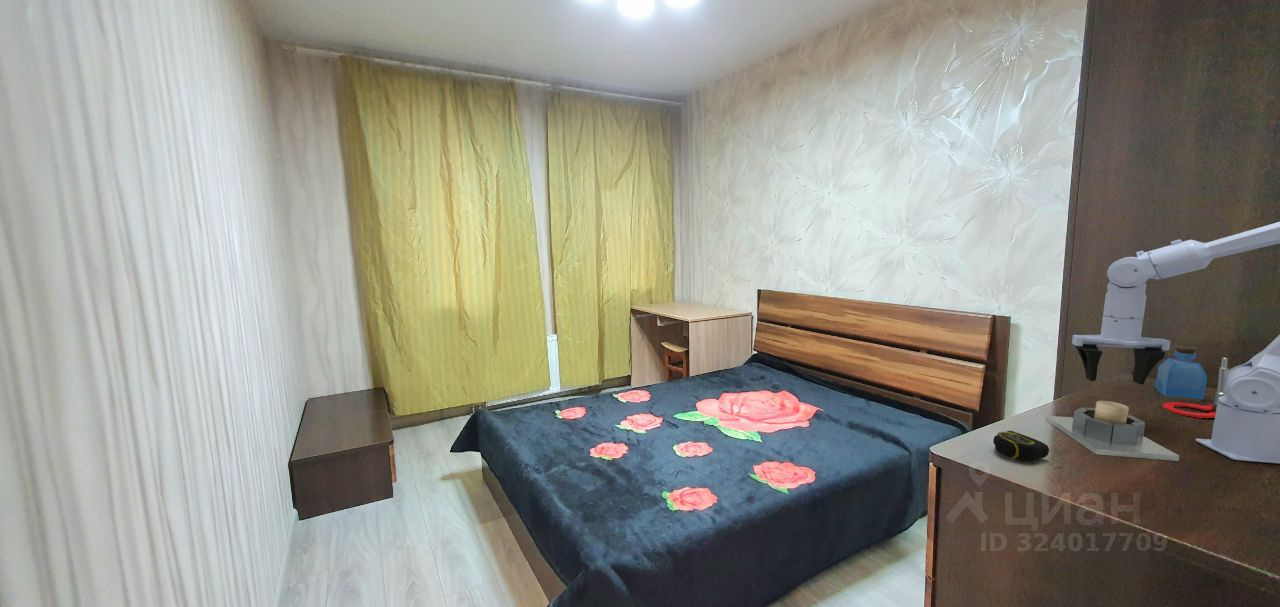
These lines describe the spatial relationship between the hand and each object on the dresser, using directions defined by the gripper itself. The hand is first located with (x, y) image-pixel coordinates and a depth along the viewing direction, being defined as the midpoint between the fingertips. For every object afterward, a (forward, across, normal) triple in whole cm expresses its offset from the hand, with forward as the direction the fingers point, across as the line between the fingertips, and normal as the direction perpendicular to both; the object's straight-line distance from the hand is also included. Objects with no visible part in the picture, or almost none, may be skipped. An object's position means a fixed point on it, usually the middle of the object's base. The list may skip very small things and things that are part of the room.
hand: (1114, 381), depth 97 cm
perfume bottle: (+10, +25, +26) cm, 37 cm away
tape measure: (+10, -23, -21) cm, 33 cm away
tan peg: (+8, -4, -9) cm, 13 cm away
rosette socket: (+9, -4, -8) cm, 13 cm away
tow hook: (+10, +21, +13) cm, 26 cm away
